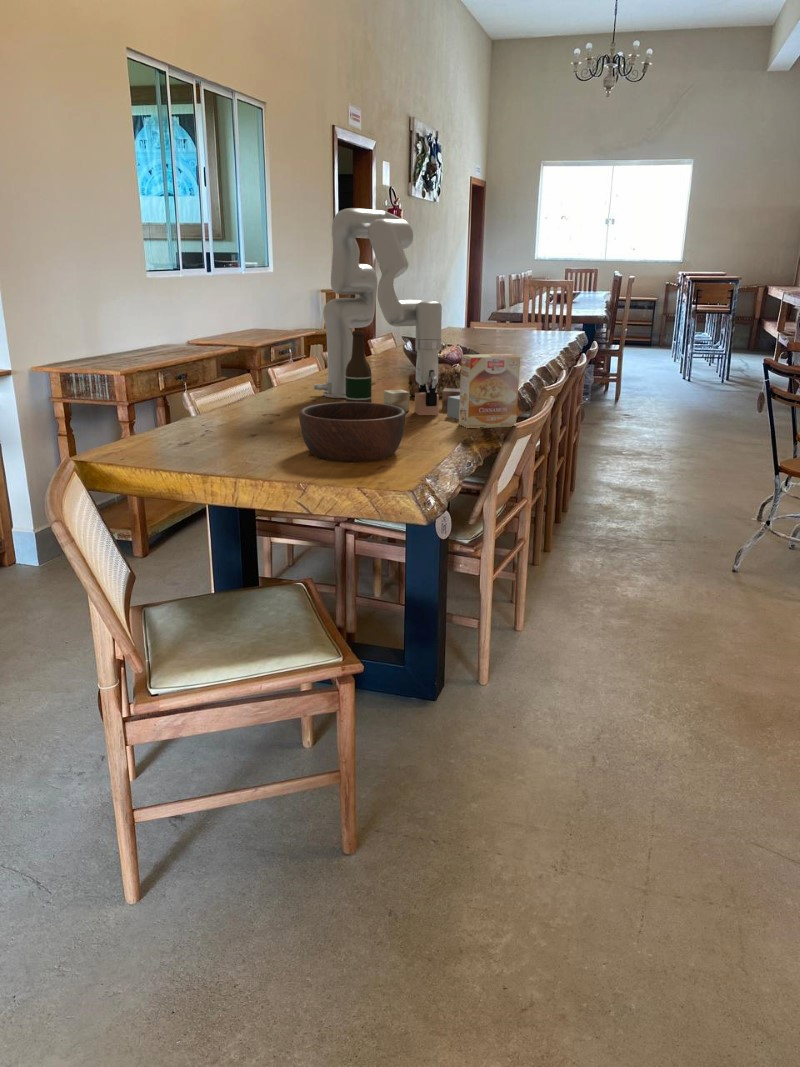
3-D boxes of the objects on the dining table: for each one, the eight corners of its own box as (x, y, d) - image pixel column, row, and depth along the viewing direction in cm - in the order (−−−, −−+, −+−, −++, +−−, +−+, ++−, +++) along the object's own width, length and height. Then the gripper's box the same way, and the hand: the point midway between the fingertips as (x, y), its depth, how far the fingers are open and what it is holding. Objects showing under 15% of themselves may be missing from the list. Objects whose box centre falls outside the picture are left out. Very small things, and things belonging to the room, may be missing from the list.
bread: (435, 390, 284) (436, 361, 280) (461, 393, 278) (462, 364, 275) (406, 396, 269) (407, 366, 266) (433, 400, 263) (434, 369, 260)
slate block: (460, 420, 230) (460, 399, 228) (446, 417, 234) (447, 396, 232) (475, 418, 233) (476, 397, 231) (462, 415, 238) (463, 395, 236)
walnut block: (441, 410, 245) (442, 391, 243) (443, 407, 250) (444, 388, 248) (461, 411, 244) (462, 391, 242) (462, 408, 249) (463, 388, 247)
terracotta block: (418, 416, 235) (419, 395, 233) (414, 412, 241) (414, 392, 239) (438, 415, 236) (438, 395, 234) (433, 412, 242) (434, 392, 240)
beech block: (391, 413, 239) (391, 393, 237) (383, 410, 244) (383, 390, 242) (409, 412, 241) (409, 392, 239) (401, 408, 246) (401, 389, 244)
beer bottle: (373, 410, 242) (373, 330, 234) (369, 415, 234) (369, 332, 227) (347, 410, 242) (347, 329, 235) (343, 414, 235) (342, 331, 227)
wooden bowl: (349, 437, 205) (349, 398, 202) (426, 452, 190) (427, 410, 187) (277, 454, 187) (276, 410, 184) (356, 472, 172) (355, 425, 169)
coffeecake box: (467, 429, 217) (470, 357, 211) (457, 424, 223) (460, 354, 217) (517, 426, 221) (521, 355, 215) (506, 422, 228) (509, 352, 222)
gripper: (409, 342, 239) (409, 399, 245) (422, 347, 223) (421, 408, 228) (433, 342, 241) (432, 398, 246) (448, 347, 224) (446, 407, 230)
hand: (427, 403), depth 237 cm, fingers open, 9 cm apart
